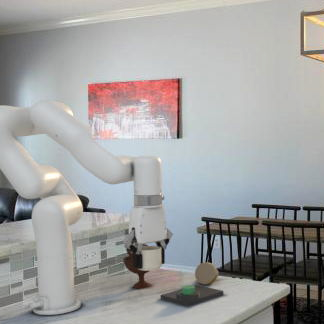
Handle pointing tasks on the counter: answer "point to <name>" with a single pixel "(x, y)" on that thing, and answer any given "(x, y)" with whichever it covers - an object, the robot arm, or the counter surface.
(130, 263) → the ice cream bowl
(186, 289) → the button
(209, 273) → the mug
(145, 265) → the cream cup
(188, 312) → the counter surface
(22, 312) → the counter surface
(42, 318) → the counter surface
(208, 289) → the scale
